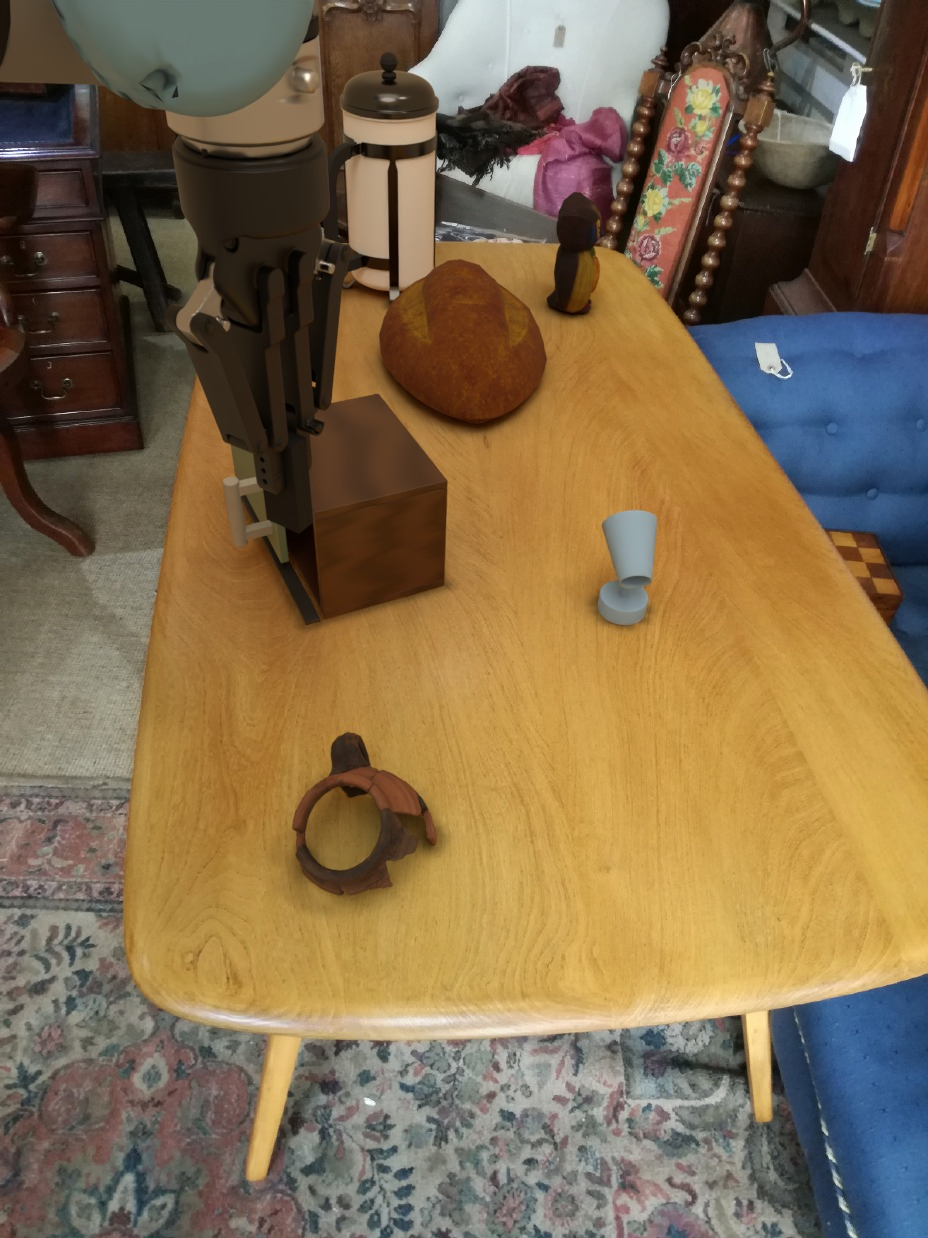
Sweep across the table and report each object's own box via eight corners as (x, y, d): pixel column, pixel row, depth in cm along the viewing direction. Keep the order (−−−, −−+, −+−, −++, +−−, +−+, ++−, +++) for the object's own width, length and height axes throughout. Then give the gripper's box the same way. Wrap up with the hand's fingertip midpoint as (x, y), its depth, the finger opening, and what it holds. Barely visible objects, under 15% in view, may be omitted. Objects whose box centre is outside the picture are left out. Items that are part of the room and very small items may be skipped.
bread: (376, 434, 107) (373, 333, 99) (381, 309, 131) (379, 219, 123) (558, 436, 108) (570, 336, 100) (530, 312, 132) (538, 222, 124)
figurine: (593, 325, 130) (609, 215, 120) (543, 321, 130) (555, 210, 120) (595, 296, 137) (610, 189, 127) (548, 291, 137) (559, 185, 127)
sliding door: (241, 574, 87) (227, 485, 80) (199, 482, 97) (183, 396, 90) (289, 561, 88) (279, 473, 82) (242, 473, 99) (230, 388, 92)
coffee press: (337, 264, 142) (324, 35, 121) (442, 266, 143) (447, 40, 122) (328, 314, 129) (312, 69, 109) (443, 317, 130) (449, 74, 110)
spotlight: (589, 581, 90) (599, 631, 85) (604, 495, 83) (616, 544, 78) (640, 581, 90) (653, 630, 85) (658, 496, 83) (675, 544, 78)
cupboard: (305, 625, 84) (294, 517, 75) (241, 498, 97) (225, 395, 89) (444, 585, 88) (448, 480, 80) (364, 469, 102) (360, 369, 94)
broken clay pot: (464, 876, 66) (424, 858, 59) (347, 930, 67) (294, 919, 60) (410, 729, 72) (367, 696, 65) (303, 781, 73) (250, 755, 66)
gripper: (215, 185, 40) (270, 596, 56) (387, 118, 48) (392, 492, 65) (91, 150, 43) (177, 552, 59) (274, 92, 51) (306, 457, 67)
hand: (290, 520), depth 62 cm, fingers closed
